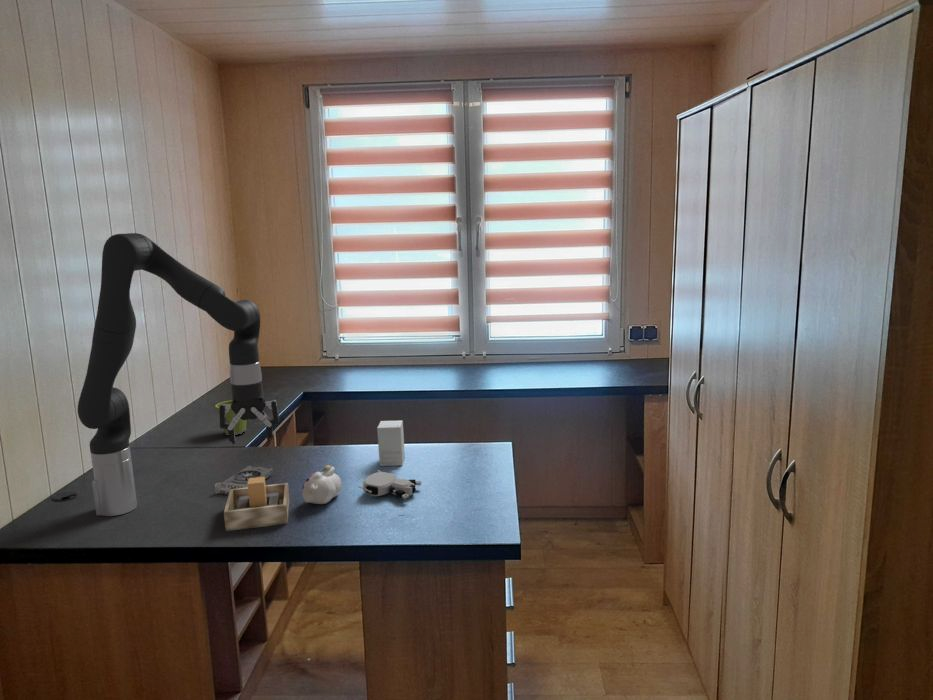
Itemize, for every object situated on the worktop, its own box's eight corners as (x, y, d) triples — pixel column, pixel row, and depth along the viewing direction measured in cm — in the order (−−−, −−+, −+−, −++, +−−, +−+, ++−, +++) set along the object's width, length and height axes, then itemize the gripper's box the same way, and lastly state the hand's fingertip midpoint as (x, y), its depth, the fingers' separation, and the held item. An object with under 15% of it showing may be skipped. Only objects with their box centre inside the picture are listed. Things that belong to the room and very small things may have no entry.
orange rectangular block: (250, 516, 172) (247, 484, 171) (251, 510, 176) (248, 478, 174) (266, 514, 173) (263, 482, 172) (267, 508, 177) (264, 476, 175)
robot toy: (423, 491, 190) (375, 482, 195) (424, 476, 189) (376, 467, 194) (406, 508, 179) (356, 498, 183) (406, 493, 178) (356, 483, 182)
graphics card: (251, 487, 185) (213, 483, 188) (252, 500, 186) (214, 495, 189) (282, 466, 201) (247, 462, 204) (283, 478, 202) (247, 474, 205)
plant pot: (259, 431, 245) (256, 401, 243) (232, 440, 235) (229, 410, 233) (237, 426, 251) (235, 397, 249) (211, 435, 241) (208, 405, 239)
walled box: (225, 531, 166) (223, 512, 165) (232, 506, 180) (230, 489, 179) (287, 523, 169) (286, 505, 168) (289, 500, 184) (288, 482, 183)
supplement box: (405, 457, 214) (403, 419, 212) (402, 466, 207) (400, 427, 204) (382, 458, 214) (380, 420, 212) (378, 466, 207) (376, 427, 205)
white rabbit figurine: (332, 457, 189) (305, 470, 175) (354, 473, 188) (330, 488, 173) (316, 484, 191) (289, 499, 177) (339, 500, 190) (313, 517, 175)
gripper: (214, 385, 163) (220, 449, 166) (274, 381, 166) (279, 443, 169) (218, 378, 170) (224, 439, 173) (276, 374, 173) (280, 434, 176)
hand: (251, 441), depth 171 cm, fingers open, 8 cm apart
